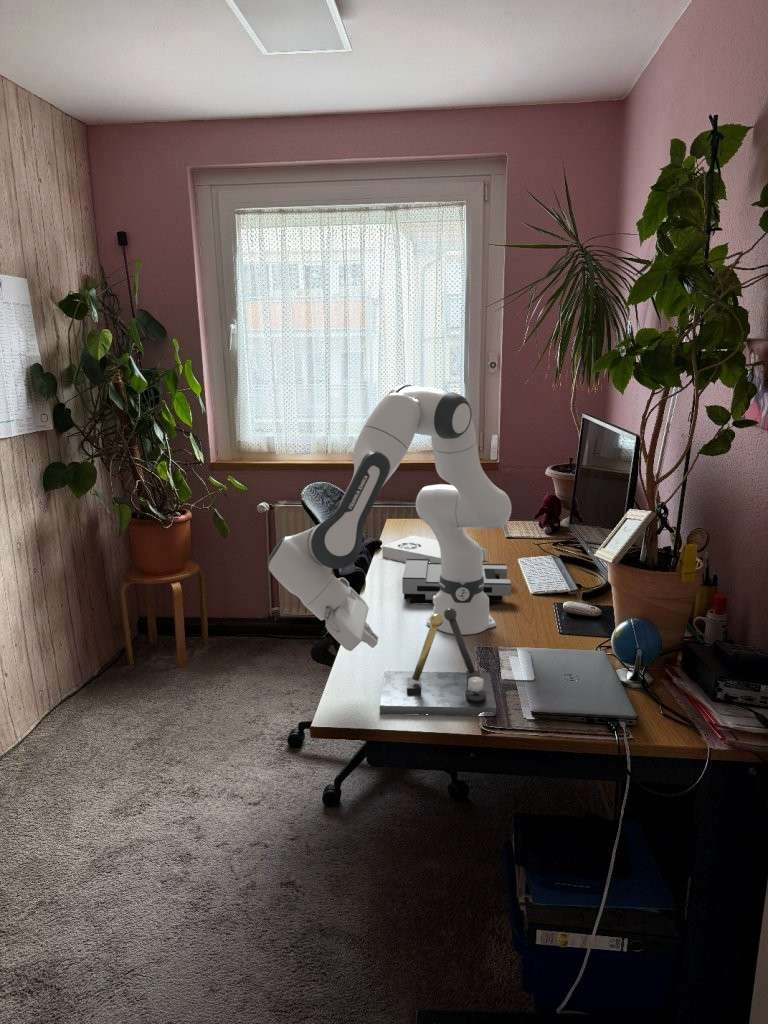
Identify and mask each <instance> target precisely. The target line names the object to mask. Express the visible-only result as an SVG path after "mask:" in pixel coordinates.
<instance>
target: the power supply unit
mask: <svg viewBox="0 0 768 1024" xmlns="http://www.w3.org/2000/svg"><path fill="white" fill-rule="evenodd" d="M381 547H382V548H381V549H382V551H381V552H382V553H381V555H382V556H381V557H386V558H385V559H387V558H390V559H389V560H391V559H394V560H393V561H396V560H397V562H401V561H402V562H401V563H405V562H406V560H407V559H428V563H429V562H430V563H441V552H440V546H439V543H438V540H437V539H433V538H428V537H423V536H417V535H409V536H407V537H404V538H401V539H398V540H395V541H392V542H389V543H386V544H383V545H382V546H381ZM481 549H482V552H483V562H486V561H487V549H485V548H482V547H481Z"/></svg>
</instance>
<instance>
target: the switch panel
mask: <svg viewBox="0 0 768 1024" xmlns="http://www.w3.org/2000/svg"><path fill="white" fill-rule="evenodd" d="M413 674H414V671H408V670H407V671H406V670H405V671H403V670H402V671H401V670H400V671H398V670H397V671H395V670H384V674H383V678H382V679H383V681H382V686H381V687H382V688H381V692H380V693H381V694H380V700H379V715H389V714H419V715H418V716H435V715H450V716H449V717H479V716H478V715H479V714H480V713H482V712H493V713H496V714H497V705H496V704H497V703H496V699H495V694H494V693H495V692H494V688H493V683H492V678H491V673H490V672H480V670H475V672H474V673H472V674H469V673H468V671H467V670H465V672H461V671H460V672H458V671H457V672H453V671H452V672H450V671H448V672H447V671H422V674H421V676H420V679H419V681H415V680H413V679H412V677H413ZM471 677H480V678H482V679H483V680H484V683H483V690H482V691H479V692H474V691H470V690H469V689H468V679H469V678H471ZM422 714H423V715H422ZM426 714H428V715H426ZM454 715H455V716H454ZM458 715H460V716H458Z"/></svg>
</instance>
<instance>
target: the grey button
mask: <svg viewBox="0 0 768 1024" xmlns="http://www.w3.org/2000/svg"><path fill="white" fill-rule="evenodd" d="M483 683H484V680H483V679H482V678H480V677H471V678H469V679H468V689H469V690H470V691H474V692H479V691H482V690H483Z"/></svg>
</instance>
